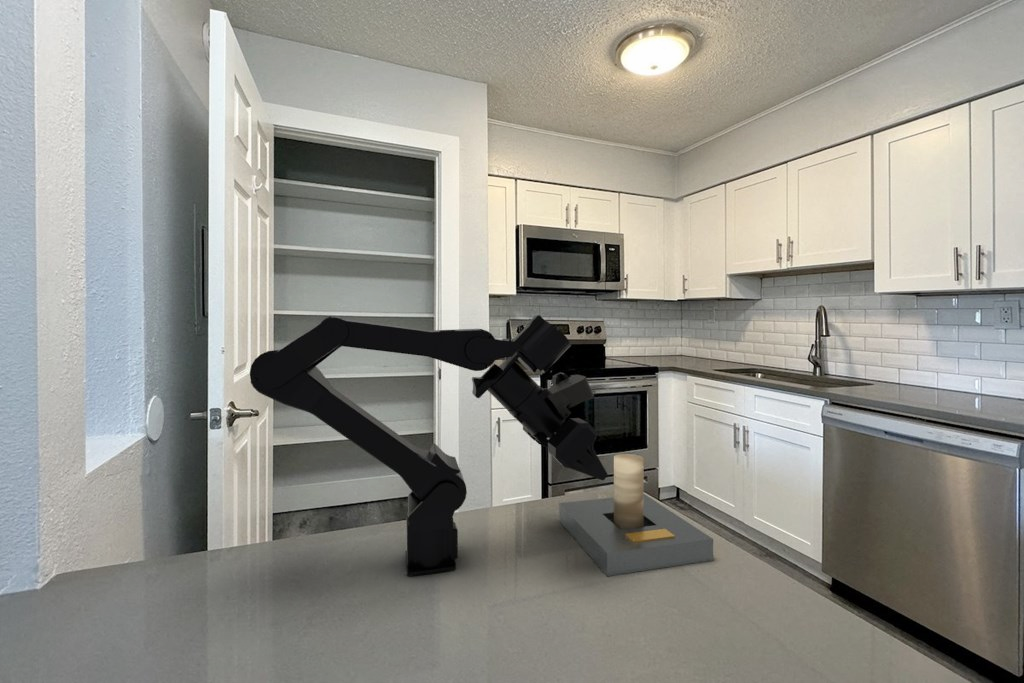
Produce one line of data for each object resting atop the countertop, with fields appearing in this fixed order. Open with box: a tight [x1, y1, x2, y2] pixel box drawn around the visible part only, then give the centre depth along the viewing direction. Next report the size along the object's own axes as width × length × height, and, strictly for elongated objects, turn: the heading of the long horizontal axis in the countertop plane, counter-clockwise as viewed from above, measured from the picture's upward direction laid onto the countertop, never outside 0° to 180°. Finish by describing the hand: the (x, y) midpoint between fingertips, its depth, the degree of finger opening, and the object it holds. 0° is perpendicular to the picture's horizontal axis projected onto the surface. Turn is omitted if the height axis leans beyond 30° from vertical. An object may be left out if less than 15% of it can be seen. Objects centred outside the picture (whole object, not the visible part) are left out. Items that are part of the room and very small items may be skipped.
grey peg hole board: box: [558, 493, 714, 577], centre depth 70 cm, size 16×18×3 cm
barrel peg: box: [613, 453, 645, 530], centre depth 70 cm, size 4×4×12 cm
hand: (592, 468), depth 68 cm, fingers open, 9 cm apart
